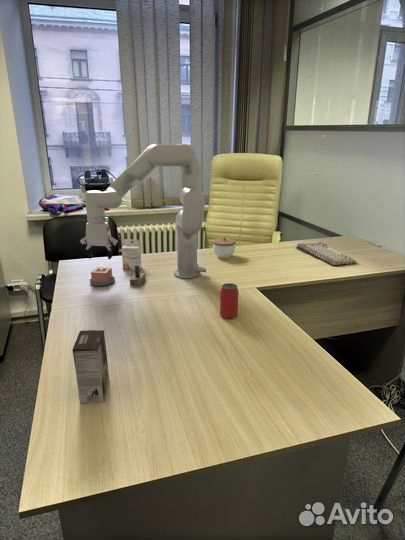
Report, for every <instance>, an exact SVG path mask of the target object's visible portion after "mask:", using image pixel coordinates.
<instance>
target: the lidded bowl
mask: <svg viewBox="0 0 405 540" xmlns="http://www.w3.org/2000/svg"><path fill="white" fill-rule="evenodd" d="M236 244H237V240H236V239H234V238H230V237H225V236H224V237H219V238H217V237H216V238H214V239H213V240H212V245H213V246H212V247H213V252H214V254H215V255H216V256H217V258H219V259H230V258H231V257H232V256H233V254H235V252H236V246H237V245H236Z"/></svg>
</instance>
